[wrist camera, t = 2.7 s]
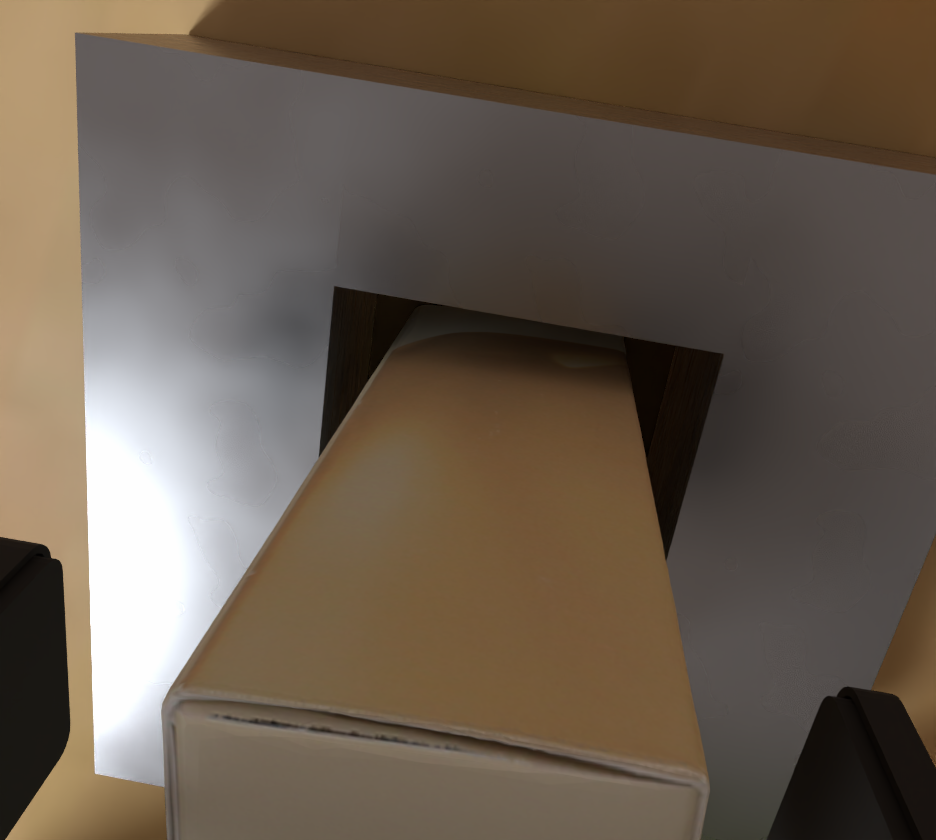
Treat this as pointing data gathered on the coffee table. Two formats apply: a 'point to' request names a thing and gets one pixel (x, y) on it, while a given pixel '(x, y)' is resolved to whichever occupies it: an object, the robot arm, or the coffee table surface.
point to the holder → (515, 295)
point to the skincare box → (453, 617)
